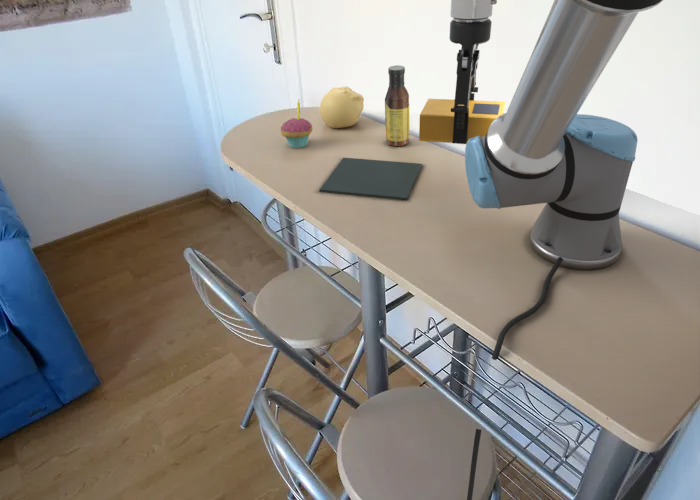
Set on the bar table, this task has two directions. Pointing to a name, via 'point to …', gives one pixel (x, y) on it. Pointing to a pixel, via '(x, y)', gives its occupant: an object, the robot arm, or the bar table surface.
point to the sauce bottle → (397, 108)
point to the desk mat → (372, 178)
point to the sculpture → (341, 107)
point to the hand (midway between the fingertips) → (462, 132)
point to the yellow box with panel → (441, 119)
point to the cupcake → (296, 130)
